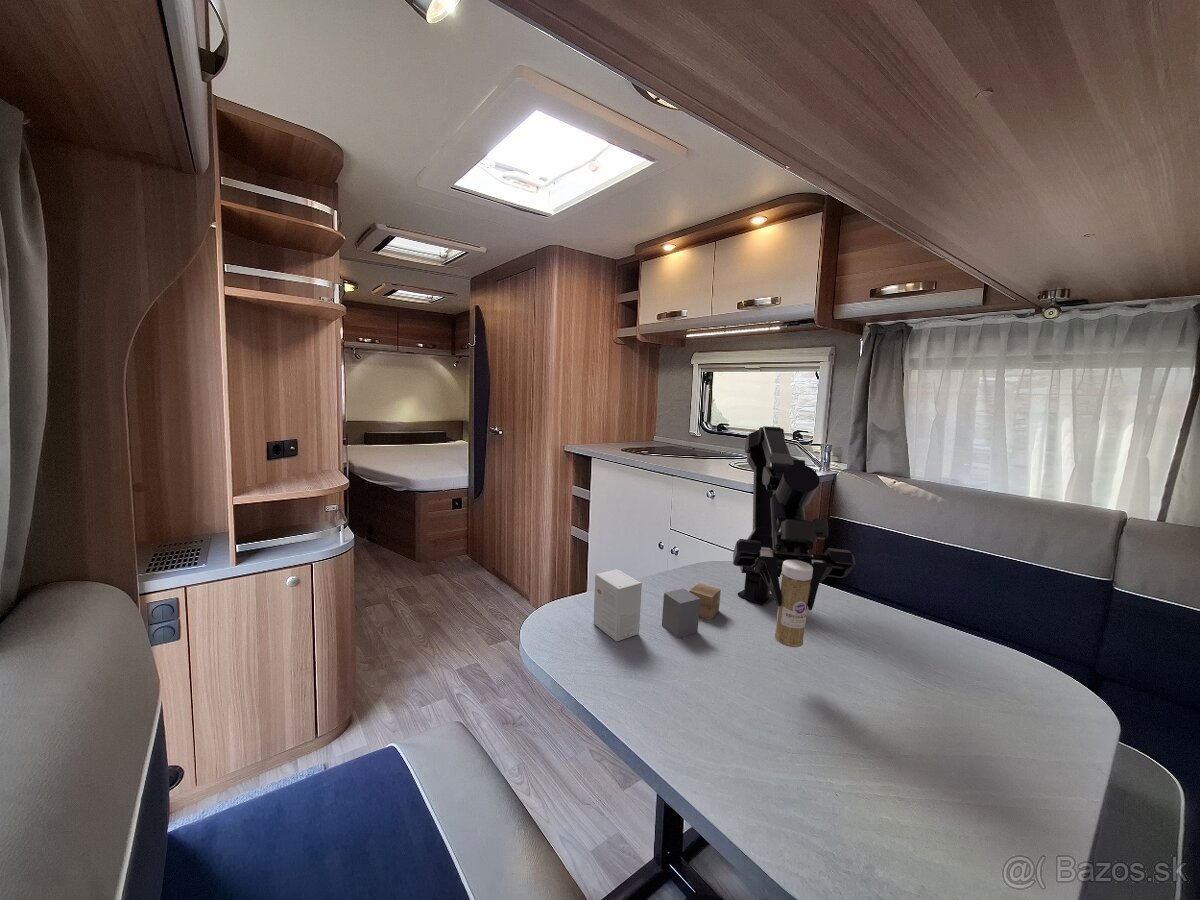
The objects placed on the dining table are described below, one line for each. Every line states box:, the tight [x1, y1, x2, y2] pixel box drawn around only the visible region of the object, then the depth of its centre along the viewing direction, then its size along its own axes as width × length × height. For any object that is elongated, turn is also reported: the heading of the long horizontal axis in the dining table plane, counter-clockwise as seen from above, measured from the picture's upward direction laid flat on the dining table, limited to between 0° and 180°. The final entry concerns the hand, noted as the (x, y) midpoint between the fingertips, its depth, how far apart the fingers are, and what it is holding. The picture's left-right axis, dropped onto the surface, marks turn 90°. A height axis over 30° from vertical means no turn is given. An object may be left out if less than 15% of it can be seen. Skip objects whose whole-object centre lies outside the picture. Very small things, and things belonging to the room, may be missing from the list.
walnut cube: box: [688, 582, 722, 621], centre depth 101 cm, size 5×5×5 cm
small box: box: [592, 569, 643, 643], centre depth 91 cm, size 8×6×10 cm
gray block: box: [661, 587, 700, 638], centre depth 93 cm, size 5×5×7 cm
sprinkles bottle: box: [774, 560, 813, 648], centre depth 77 cm, size 5×5×13 cm
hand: (794, 607), depth 76 cm, fingers closed on sprinkles bottle, 4 cm apart
